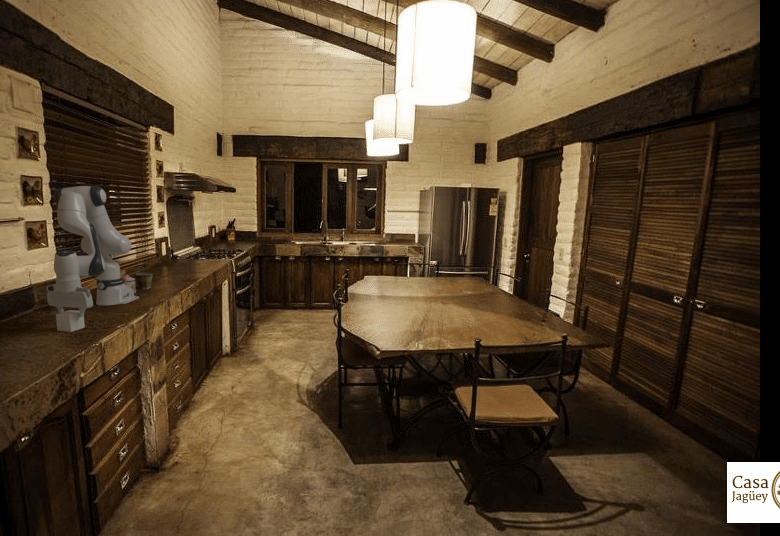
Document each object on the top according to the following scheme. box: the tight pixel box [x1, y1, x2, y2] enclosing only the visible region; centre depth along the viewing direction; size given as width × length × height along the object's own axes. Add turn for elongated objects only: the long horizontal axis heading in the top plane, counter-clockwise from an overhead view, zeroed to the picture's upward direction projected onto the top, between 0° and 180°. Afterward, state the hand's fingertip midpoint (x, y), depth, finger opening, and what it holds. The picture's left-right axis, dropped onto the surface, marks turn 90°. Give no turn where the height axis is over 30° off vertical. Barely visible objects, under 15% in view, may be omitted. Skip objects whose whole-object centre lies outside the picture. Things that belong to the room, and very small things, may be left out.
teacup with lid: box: [123, 274, 137, 294], centre depth 261 cm, size 12×9×12 cm
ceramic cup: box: [135, 272, 154, 290], centre depth 276 cm, size 13×10×10 cm
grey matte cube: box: [55, 309, 86, 333], centre depth 187 cm, size 7×7×8 cm
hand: (72, 316), depth 188 cm, fingers open, 8 cm apart
